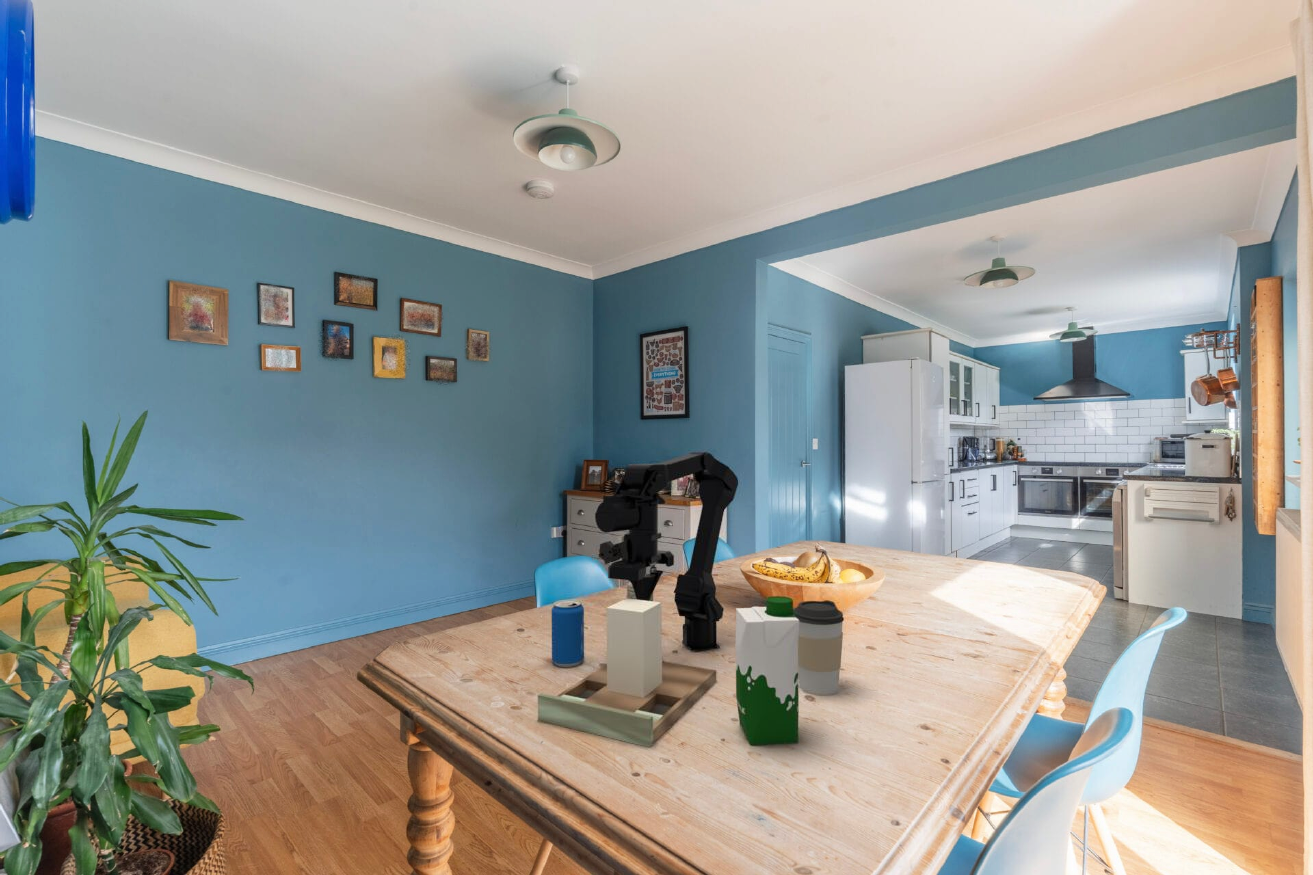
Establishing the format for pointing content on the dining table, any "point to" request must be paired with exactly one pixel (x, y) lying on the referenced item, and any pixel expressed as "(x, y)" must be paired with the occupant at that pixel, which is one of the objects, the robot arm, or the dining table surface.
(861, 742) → the dining table surface
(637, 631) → the cream block
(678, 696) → the tray
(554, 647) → the beverage can
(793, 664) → the milk carton
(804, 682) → the coffee cup
